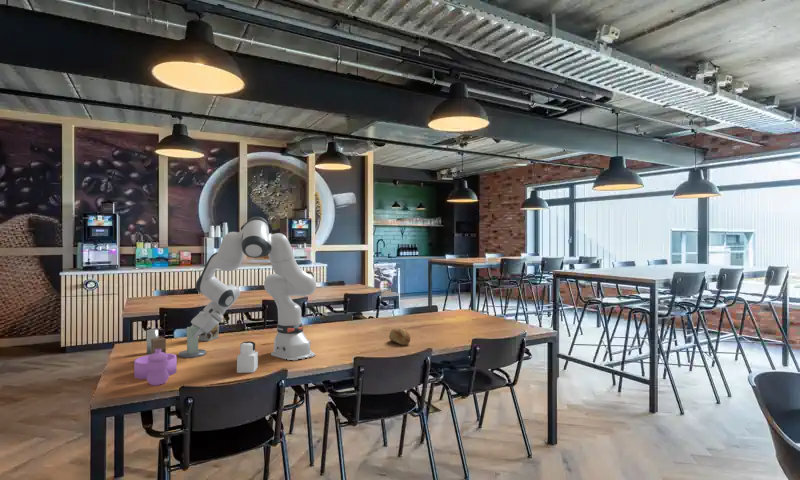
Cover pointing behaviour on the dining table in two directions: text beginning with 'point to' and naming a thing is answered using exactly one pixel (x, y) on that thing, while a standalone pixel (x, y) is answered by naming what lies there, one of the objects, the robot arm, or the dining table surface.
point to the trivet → (187, 355)
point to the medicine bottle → (247, 358)
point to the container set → (155, 367)
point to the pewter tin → (150, 335)
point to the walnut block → (158, 344)
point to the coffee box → (210, 333)
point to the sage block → (192, 340)
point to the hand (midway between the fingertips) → (191, 335)
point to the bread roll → (399, 336)
